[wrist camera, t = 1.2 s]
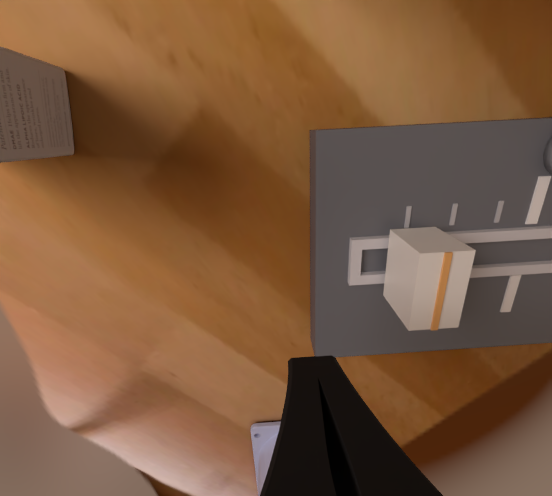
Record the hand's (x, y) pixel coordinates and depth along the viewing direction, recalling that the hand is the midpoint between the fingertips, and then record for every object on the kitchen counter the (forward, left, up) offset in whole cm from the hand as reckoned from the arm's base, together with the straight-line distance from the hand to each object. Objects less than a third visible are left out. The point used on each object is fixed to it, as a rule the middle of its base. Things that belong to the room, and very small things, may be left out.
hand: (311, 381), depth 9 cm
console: (0, -10, -10) cm, 14 cm away
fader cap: (0, -6, -8) cm, 10 cm away
